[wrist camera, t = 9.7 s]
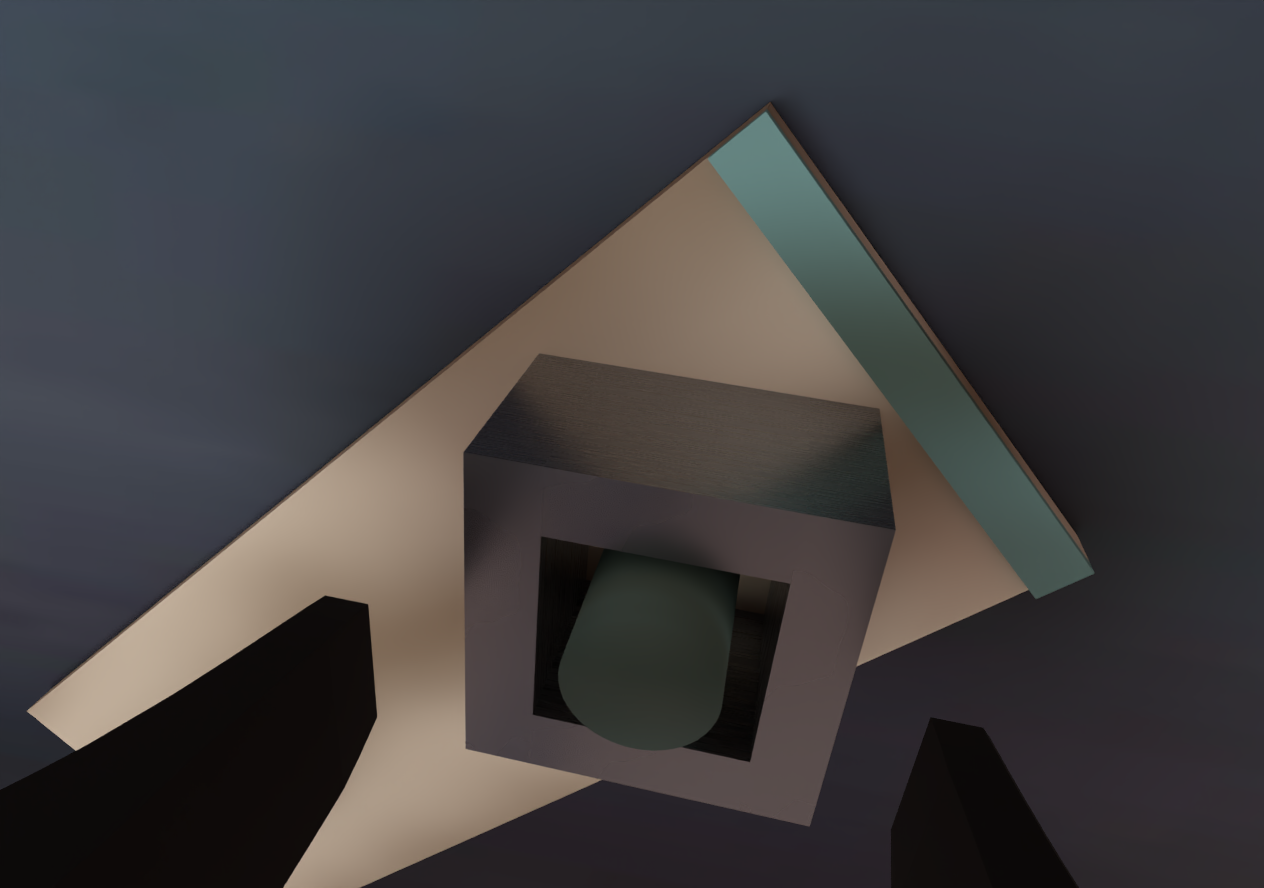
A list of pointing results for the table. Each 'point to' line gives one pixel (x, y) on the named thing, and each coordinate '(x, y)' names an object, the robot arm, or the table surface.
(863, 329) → the board
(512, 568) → the collar
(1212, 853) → the table surface
